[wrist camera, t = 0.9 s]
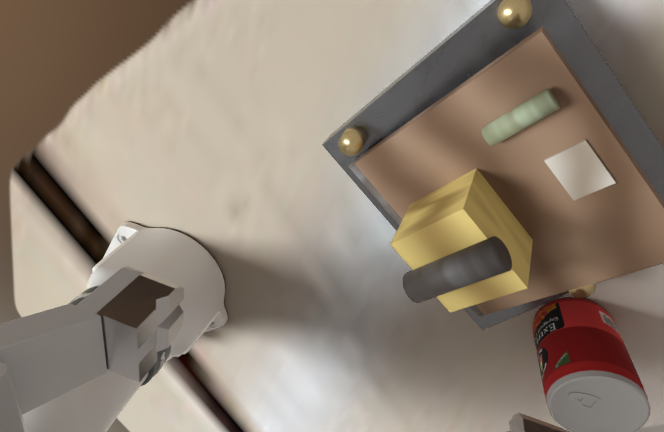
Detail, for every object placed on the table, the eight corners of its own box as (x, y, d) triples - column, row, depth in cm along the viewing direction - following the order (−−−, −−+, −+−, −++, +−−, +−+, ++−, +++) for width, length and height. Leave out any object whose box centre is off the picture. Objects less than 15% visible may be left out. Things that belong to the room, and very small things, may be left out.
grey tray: (481, 311, 50) (483, 343, 45) (330, 135, 45) (316, 151, 40) (700, 212, 39) (728, 241, 35) (534, -36, 34) (544, -38, 30)
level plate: (477, 307, 46) (460, 384, 39) (352, 161, 42) (308, 218, 35) (690, 241, 33) (722, 337, 26) (542, 25, 29) (533, 71, 22)
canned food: (539, 289, 47) (558, 368, 37) (623, 301, 45) (665, 387, 35) (524, 343, 50) (538, 427, 41) (602, 356, 48) (635, 447, 39)
